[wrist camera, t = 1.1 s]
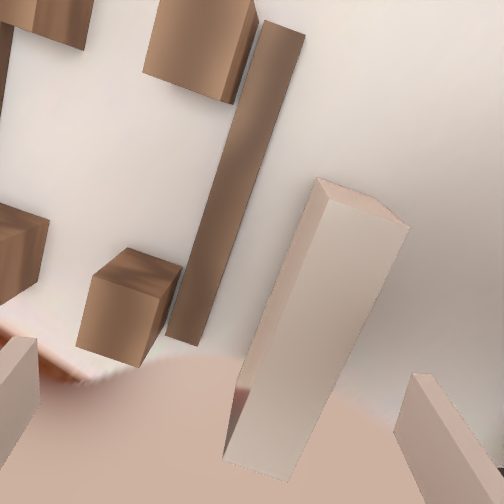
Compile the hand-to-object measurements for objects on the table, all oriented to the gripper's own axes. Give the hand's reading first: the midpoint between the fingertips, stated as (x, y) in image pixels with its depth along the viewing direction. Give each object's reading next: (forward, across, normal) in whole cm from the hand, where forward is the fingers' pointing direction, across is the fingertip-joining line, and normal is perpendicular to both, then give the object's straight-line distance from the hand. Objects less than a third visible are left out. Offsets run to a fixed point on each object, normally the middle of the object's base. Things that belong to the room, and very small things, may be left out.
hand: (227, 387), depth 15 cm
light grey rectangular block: (+21, -7, +6) cm, 23 cm away
